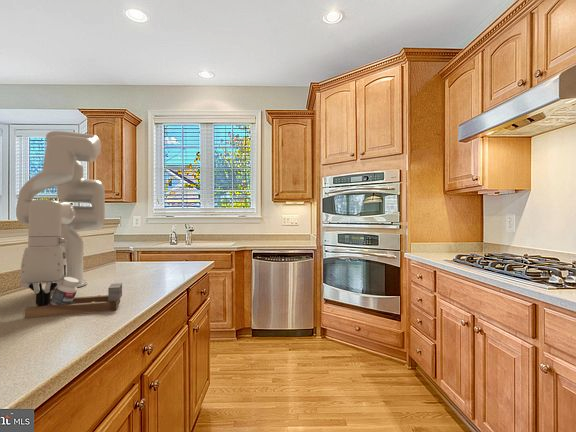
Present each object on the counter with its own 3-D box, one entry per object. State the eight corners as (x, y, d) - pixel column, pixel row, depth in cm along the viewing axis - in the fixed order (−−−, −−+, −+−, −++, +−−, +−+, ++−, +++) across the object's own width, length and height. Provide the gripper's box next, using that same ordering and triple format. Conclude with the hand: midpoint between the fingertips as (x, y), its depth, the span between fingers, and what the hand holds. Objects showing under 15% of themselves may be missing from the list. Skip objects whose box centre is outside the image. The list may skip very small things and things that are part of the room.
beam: (38, 307, 94) (38, 286, 94) (122, 301, 102) (122, 281, 102) (24, 317, 85) (24, 294, 85) (118, 310, 93) (118, 288, 93)
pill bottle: (58, 313, 89) (71, 283, 89) (43, 305, 89) (56, 276, 90) (73, 309, 94) (85, 281, 94) (59, 302, 95) (71, 275, 95)
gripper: (78, 241, 96) (77, 301, 96) (19, 242, 91) (17, 305, 91) (71, 242, 89) (69, 307, 89) (6, 243, 84) (4, 312, 83)
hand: (43, 306), depth 90 cm, fingers closed
